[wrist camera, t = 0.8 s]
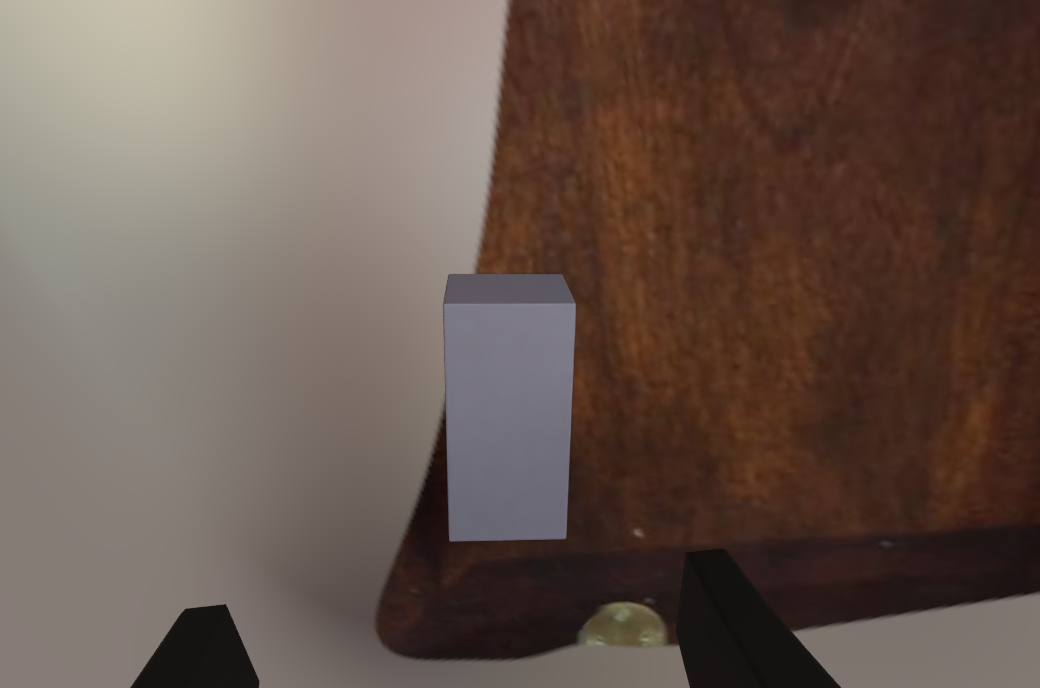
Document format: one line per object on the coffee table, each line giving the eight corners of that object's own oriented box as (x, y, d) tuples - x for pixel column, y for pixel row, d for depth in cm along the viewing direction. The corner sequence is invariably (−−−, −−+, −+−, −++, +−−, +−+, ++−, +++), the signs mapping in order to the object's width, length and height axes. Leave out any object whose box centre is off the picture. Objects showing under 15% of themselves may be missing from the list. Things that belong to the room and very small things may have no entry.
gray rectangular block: (555, 482, 26) (566, 539, 23) (452, 484, 26) (448, 541, 22) (562, 273, 23) (576, 303, 20) (448, 273, 23) (443, 304, 20)
